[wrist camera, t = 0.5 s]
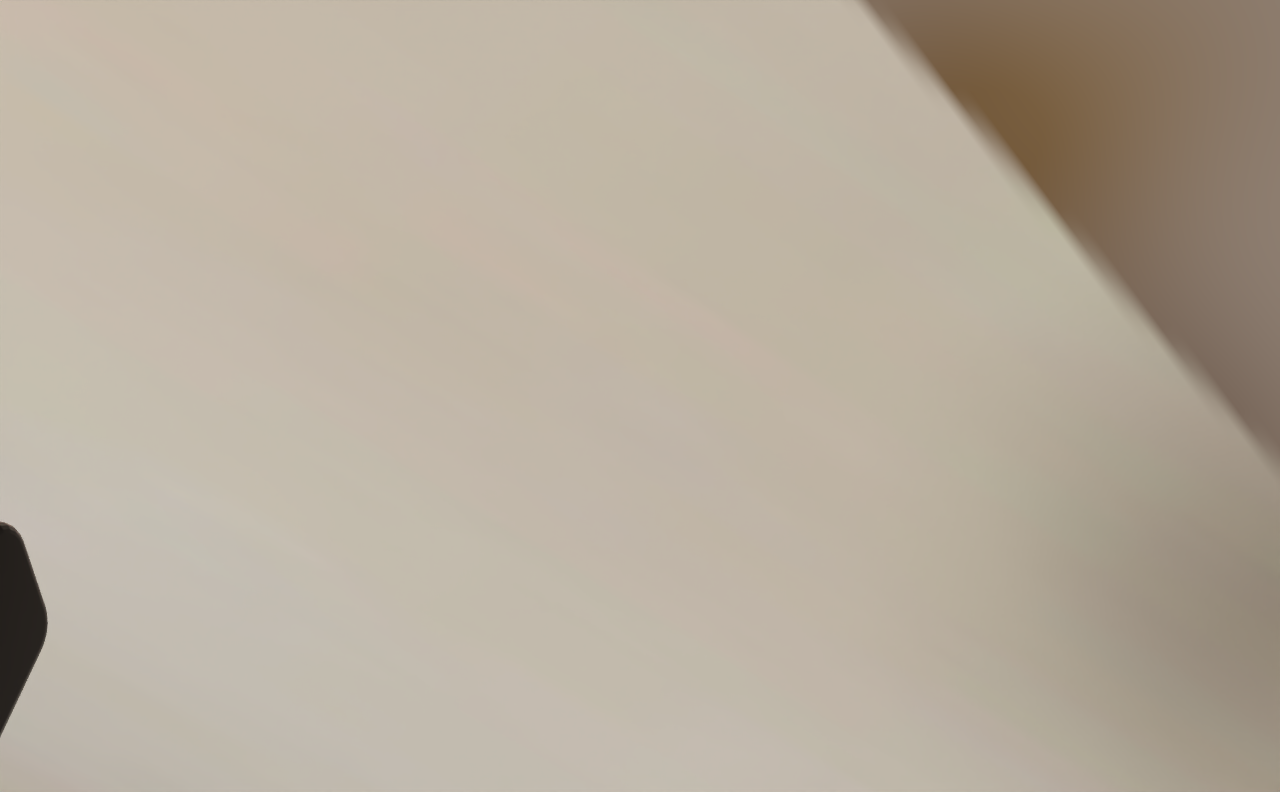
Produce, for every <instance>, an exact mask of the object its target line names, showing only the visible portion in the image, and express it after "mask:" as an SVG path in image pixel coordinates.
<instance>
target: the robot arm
mask: <svg viewBox="0 0 1280 792" xmlns="http://www.w3.org/2000/svg"><path fill="white" fill-rule="evenodd" d="M47 624H48V622H47V611H46V607H45V604H44V601H43V598H42V595H41V592H40V589H39V586H38V583H37V580H36V577H35V574H34V571H33V568H32V565H31V562H30V559H29V556H28V553H27V550H26V547H25V544H24V541H23V539H22V537H21V535H20V534H19V532H18V531H17V530H16V529H15V528H14V527H13V526H11V525H9V524H7V523H4V522H0V736H1V734H2V732H3V730H4V728H5V726H6V724H7V722H8V719H9V717H10V715H11V713H12V711H13V709H14V707H15V705H16V702H17V700H18V698H19V696H20V694H21V692H22V690H23V688H24V686H25V683H26V681H27V679H28V677H29V675H30V673H31V671H32V669H33V666H34V664H35V662H36V660H37V658H38V656H39V654H40V652H41V650H42V647H43V644H44V641H45V637H46V633H47Z"/></svg>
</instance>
